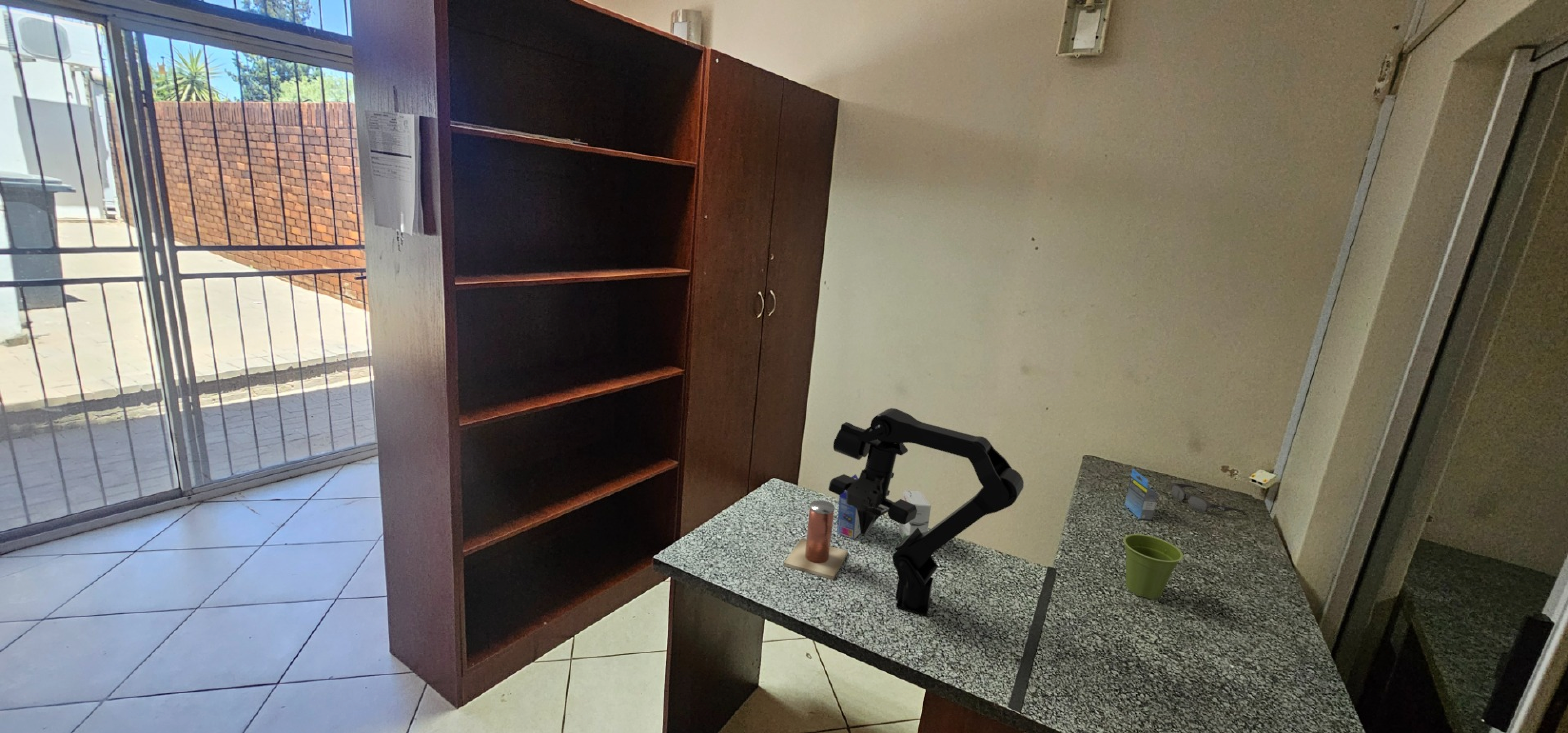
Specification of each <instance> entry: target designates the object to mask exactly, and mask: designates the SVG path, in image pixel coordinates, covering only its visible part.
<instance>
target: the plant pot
mask: <svg viewBox="0 0 1568 733" xmlns="http://www.w3.org/2000/svg"><path fill="white" fill-rule="evenodd" d="M1122 541H1123V542H1122V543H1123V544H1124V546H1125V548H1124V549H1125V550H1124V551H1125V555H1126V556H1125V586H1126V588H1127V589H1128V591H1130V592H1131V593H1133V594H1134V595H1136V596H1138V597H1144V598H1146V599H1150V600H1155V599H1157V600H1158V599H1160V598H1161V597H1162V595H1163V593H1164V591H1165V589H1166V586H1167V584H1168V582H1169V580H1170V578H1171V576H1172V573H1173V571H1174V569H1175V568H1177V565H1178V563H1180V562H1181V561H1182V560H1183V559H1184V553H1183V552H1182V551H1181V549H1179V548H1178V547H1177V546H1175V545H1174V544H1172V543H1171V542H1169V541H1166V540H1164V539H1161V538H1160V537H1155V536H1152V535H1147V534H1143V533H1142V534H1141V533H1130V534H1127V535H1125V536H1124V537H1123V540H1122Z"/></svg>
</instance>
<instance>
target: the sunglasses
mask: <svg viewBox="0 0 1568 733" xmlns="http://www.w3.org/2000/svg"><path fill="white" fill-rule="evenodd" d="M1184 488H1192V489H1195V490H1197V491H1198V492H1200V491H1201V492H1205V491H1204V490H1202V489H1201V488H1199V487H1197V486H1195V485H1190V484H1187V483H1175V482H1172V483H1171V485H1170V490H1171V491H1170V493H1171V497H1172V496H1173V497H1174V498H1175V499H1177V500H1179V501H1180V502H1183V501H1185V500H1186V499H1187V502H1188V505H1189V507H1190V509H1191V508H1193V509H1194V511H1195V510H1196V511H1195V512H1197V511H1199V512H1198V513H1200V514H1203V513H1205V512H1206V511H1207V510H1208V509H1211V508H1212V509H1216V510H1220V511H1222V512H1229V511H1234V512H1235V511H1237V512H1240V513H1241V514H1242V513H1243V515H1245V514H1244V513H1246V514H1247V512H1245V511H1244V510H1242V509H1240V508H1235V507H1230V506H1225V505H1220V504H1216V503H1212V502H1210V501H1208V500H1206V499H1205V498H1203V497H1200V496H1199V495H1195V494H1191V493H1189V492H1188V491H1186V490H1185V489H1184ZM1201 492H1200V493H1201ZM1173 497H1172V498H1173ZM1174 498H1173V499H1174ZM1175 499H1174V500H1175ZM1177 500H1176V501H1177ZM1179 501H1178V502H1179ZM1193 509H1192V510H1193Z"/></svg>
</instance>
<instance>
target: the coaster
mask: <svg viewBox="0 0 1568 733" xmlns="http://www.w3.org/2000/svg"><path fill="white" fill-rule="evenodd" d="M806 541H807V539H804V538H800V540H799V541H798V542H797V544H796V545H795V546H794V548H793V549H792V551H791V552H790V553H789V554H788V556H787V558H786V559H785V560H784V562H783V566H784V567H787V568H791V569H794V570H798V571H801V572H805V573H808V574H813V575H816V576H819V577H823V578H826V579H829V580H834V579H835V578H836V575H837V574H838V572H839V570H840V568H841V567H842V565H843V563H844V561H845V559H846V557H847V556H848V553H849V550H846V549H842V548H838V547H834V546H831V545H830V551H829V559H828V561H826V562H824V563H814V562H811V561H809V560H807V559H806V557H805V551H806Z"/></svg>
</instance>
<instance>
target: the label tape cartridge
mask: <svg viewBox="0 0 1568 733" xmlns="http://www.w3.org/2000/svg"><path fill="white" fill-rule="evenodd" d="M1139 478H1140V479H1139ZM1128 484H1129V485H1128V488H1127V492H1126V498H1125V502H1124V506H1125V505H1126V506H1127V507H1126V508H1127V509H1128V508H1129V509H1128V510H1129V511H1130V512H1131V513H1133V514H1134V515H1135V516H1136V517H1137V518H1138V519H1139V520H1146V521H1148V520H1149V521H1151V520H1153V516H1154V512H1155V509H1156V504H1157V501H1158V497H1159V494H1158V493H1157V492H1156V491H1154V490H1153V489H1152V488H1151V487H1150V486H1149V479H1148V478H1147V477H1145V476H1143V475H1142V474H1141V473H1139V472H1138V471H1137V470H1136V469H1134V468H1133V467H1132V470H1131V474H1130V479H1129V483H1128Z"/></svg>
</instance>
